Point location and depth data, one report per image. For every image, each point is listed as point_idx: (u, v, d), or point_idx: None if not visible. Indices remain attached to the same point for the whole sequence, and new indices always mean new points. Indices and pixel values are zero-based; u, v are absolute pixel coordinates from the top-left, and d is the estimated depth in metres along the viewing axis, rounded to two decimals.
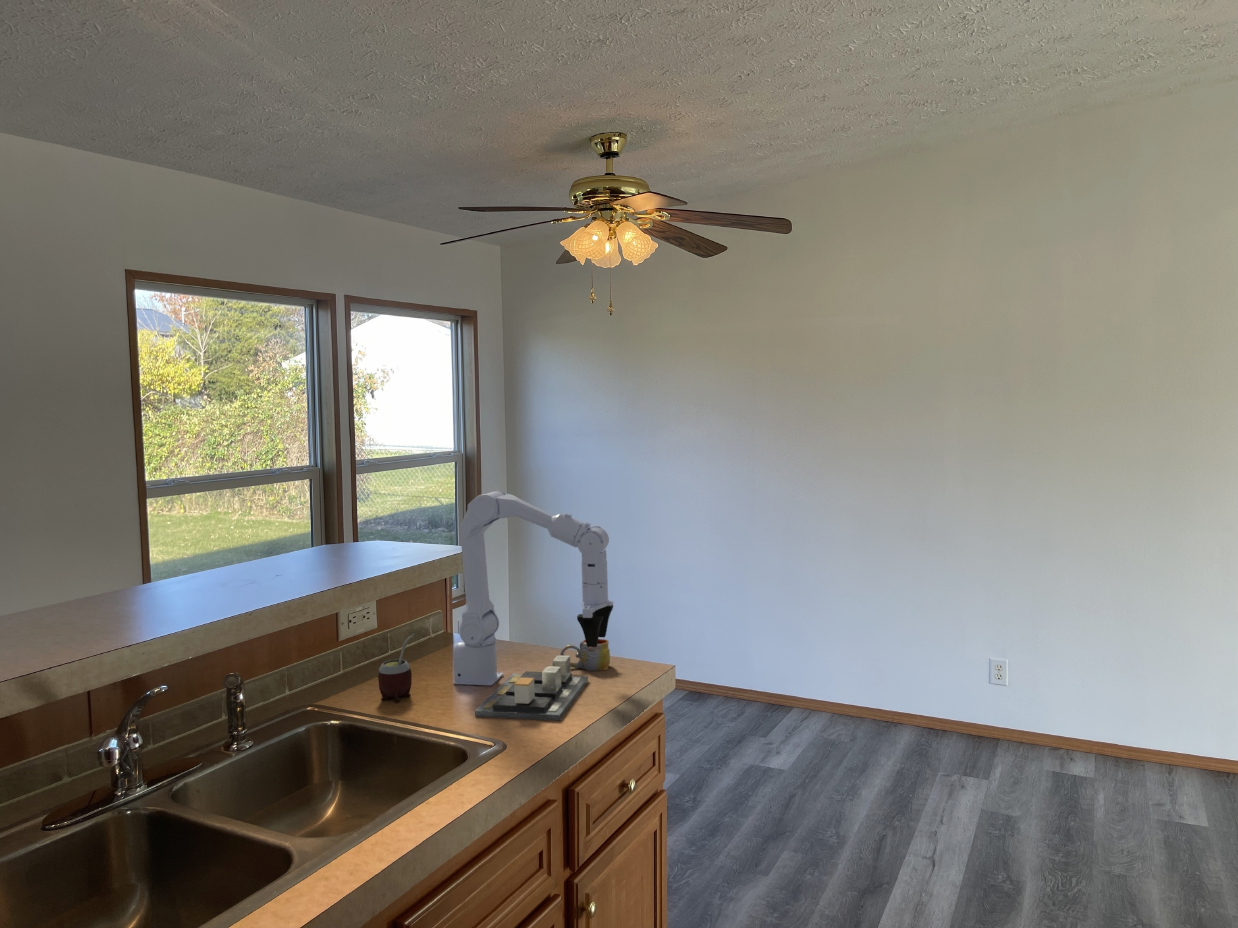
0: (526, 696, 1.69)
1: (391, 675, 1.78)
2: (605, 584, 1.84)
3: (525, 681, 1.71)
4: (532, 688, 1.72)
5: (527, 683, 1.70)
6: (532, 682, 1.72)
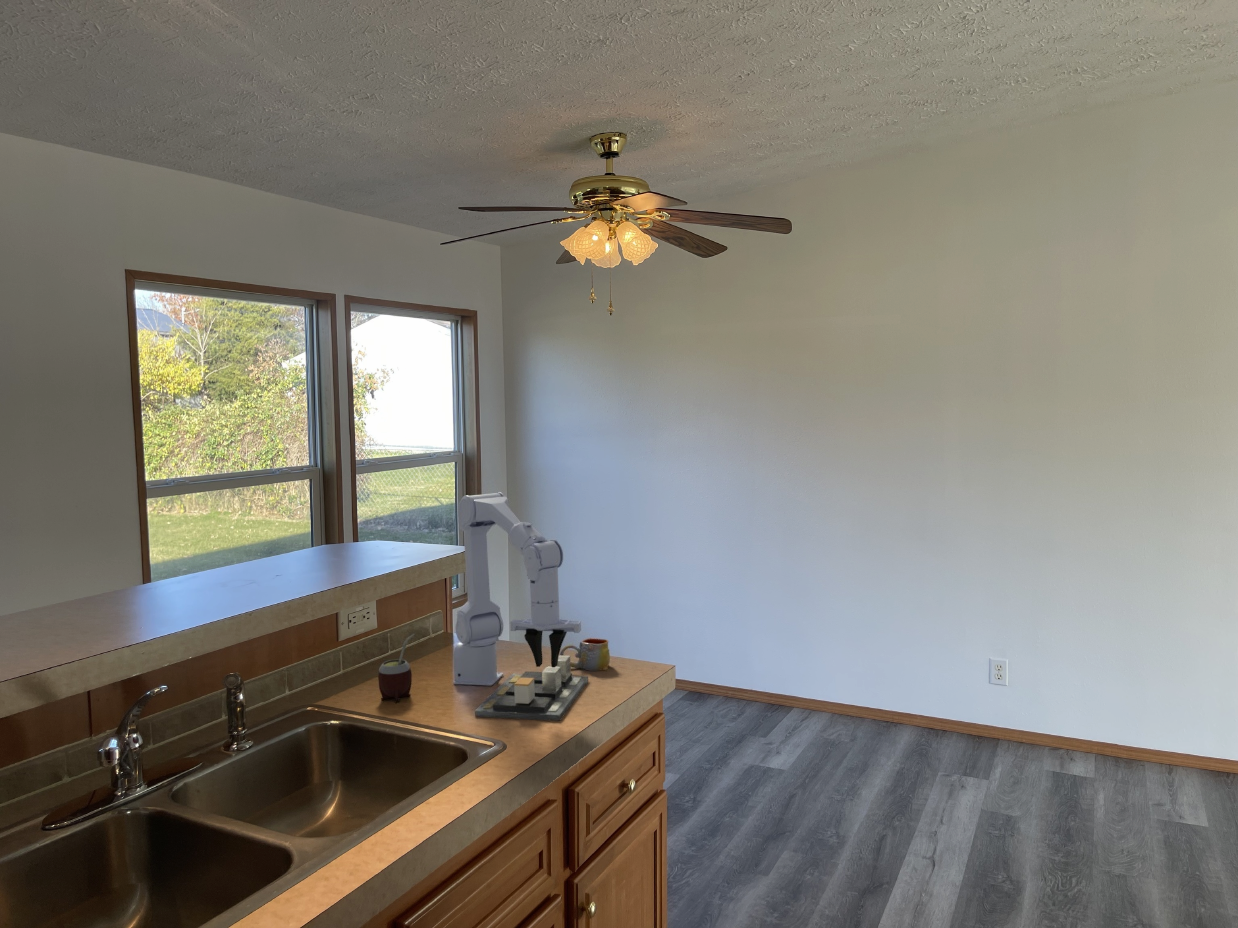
0: (526, 696, 1.69)
1: (391, 675, 1.78)
2: (536, 605, 1.67)
3: (525, 681, 1.71)
4: (532, 688, 1.72)
5: (527, 683, 1.70)
6: (532, 682, 1.72)
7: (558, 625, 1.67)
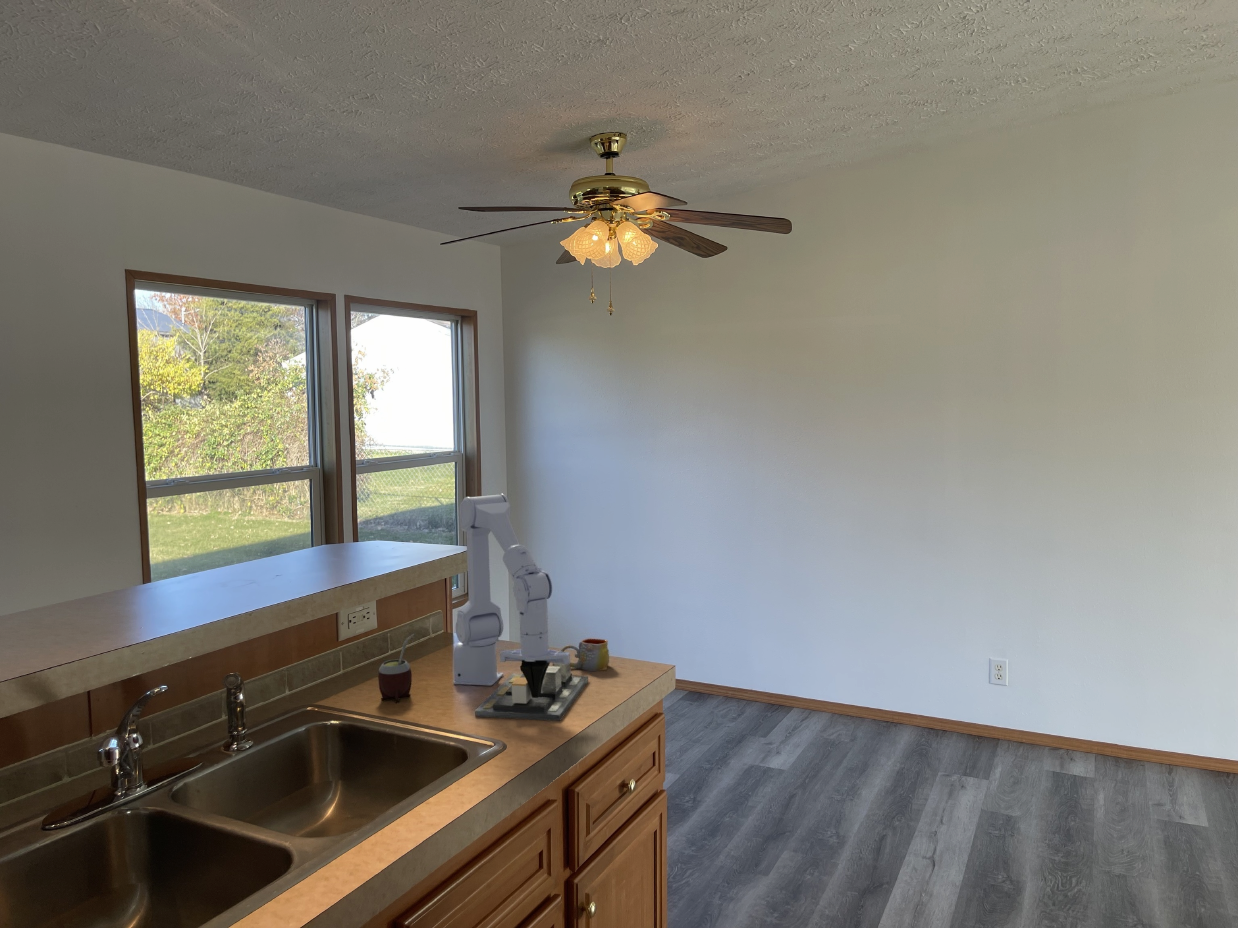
0: (523, 696, 1.69)
1: (391, 675, 1.78)
2: (525, 636, 1.68)
3: (522, 681, 1.71)
4: (529, 688, 1.72)
5: (524, 683, 1.70)
6: None
7: (547, 656, 1.68)
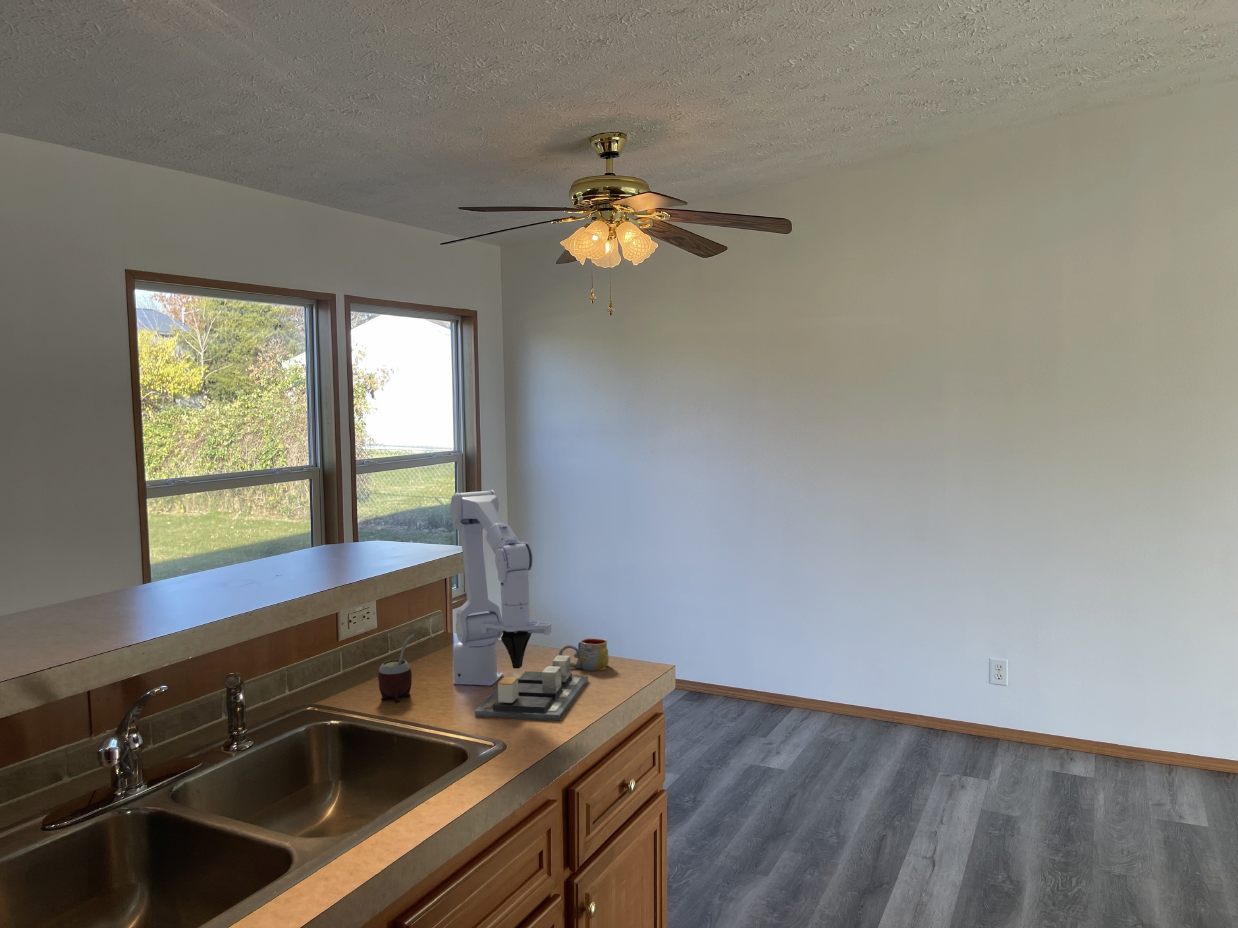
0: (510, 695, 1.70)
1: (391, 675, 1.78)
2: (506, 606, 1.68)
3: (509, 680, 1.72)
4: (516, 687, 1.73)
5: (511, 682, 1.70)
6: (516, 681, 1.73)
7: (528, 627, 1.68)
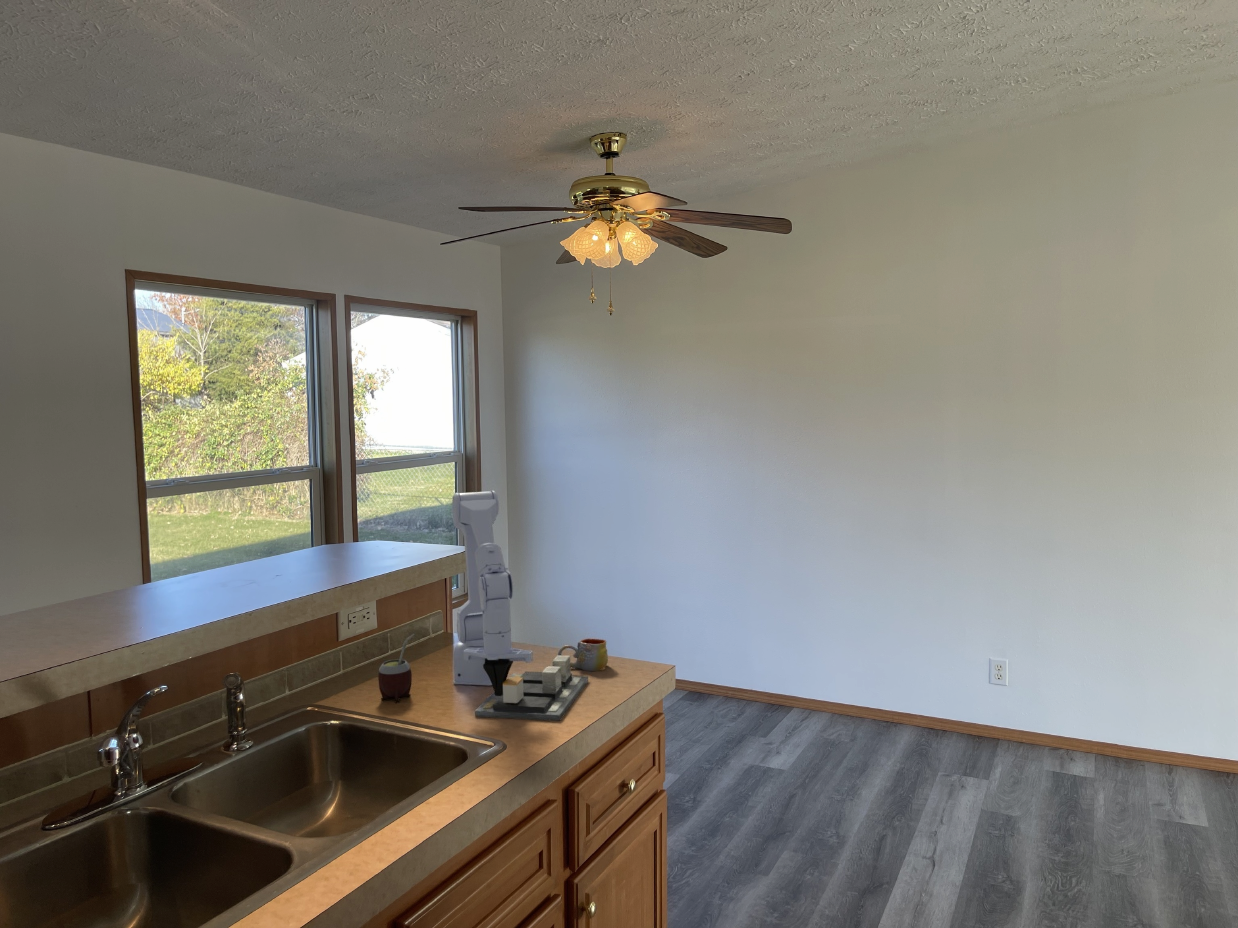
0: (515, 695, 1.70)
1: (391, 675, 1.78)
2: (488, 635, 1.69)
3: (514, 681, 1.71)
4: (521, 688, 1.72)
5: (516, 683, 1.70)
6: (521, 682, 1.72)
7: (510, 655, 1.69)
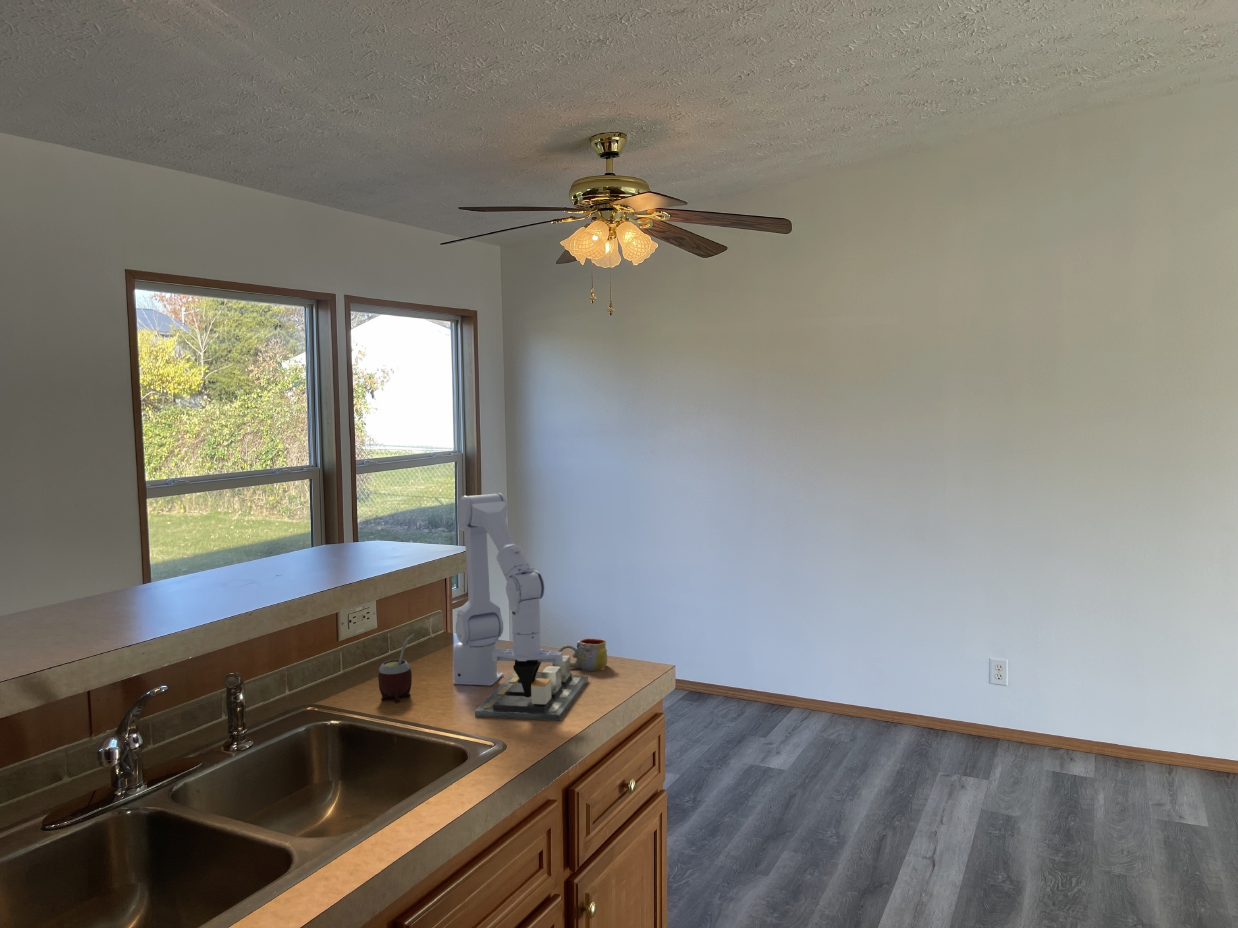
0: (543, 697, 1.69)
1: (391, 675, 1.78)
2: (518, 636, 1.68)
3: (542, 682, 1.70)
4: (549, 689, 1.71)
5: (544, 684, 1.69)
6: (549, 683, 1.71)
7: (539, 656, 1.68)
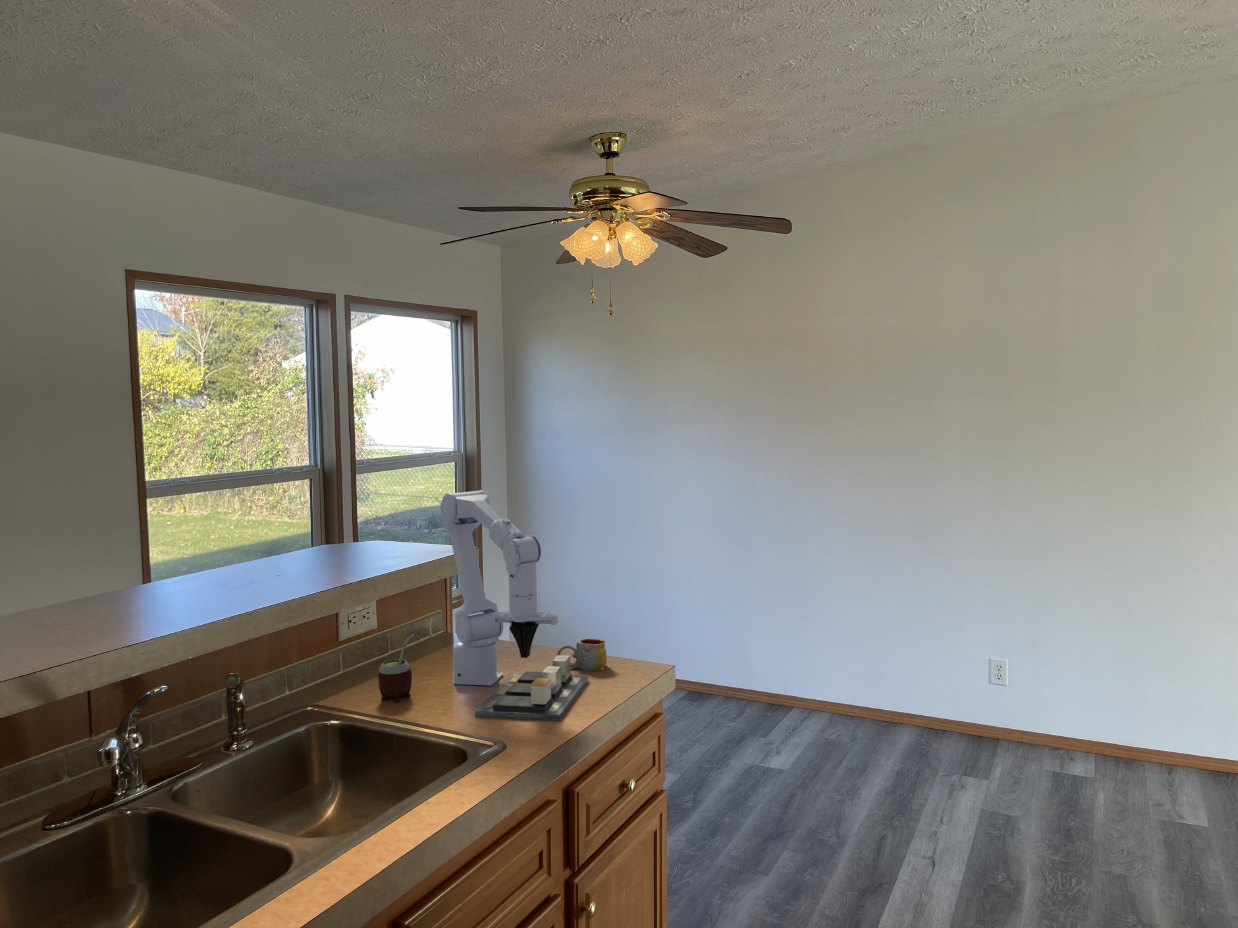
0: (543, 697, 1.69)
1: (391, 675, 1.78)
2: (515, 598, 1.74)
3: (541, 682, 1.70)
4: (548, 689, 1.71)
5: (544, 684, 1.69)
6: (548, 683, 1.71)
7: (536, 617, 1.74)
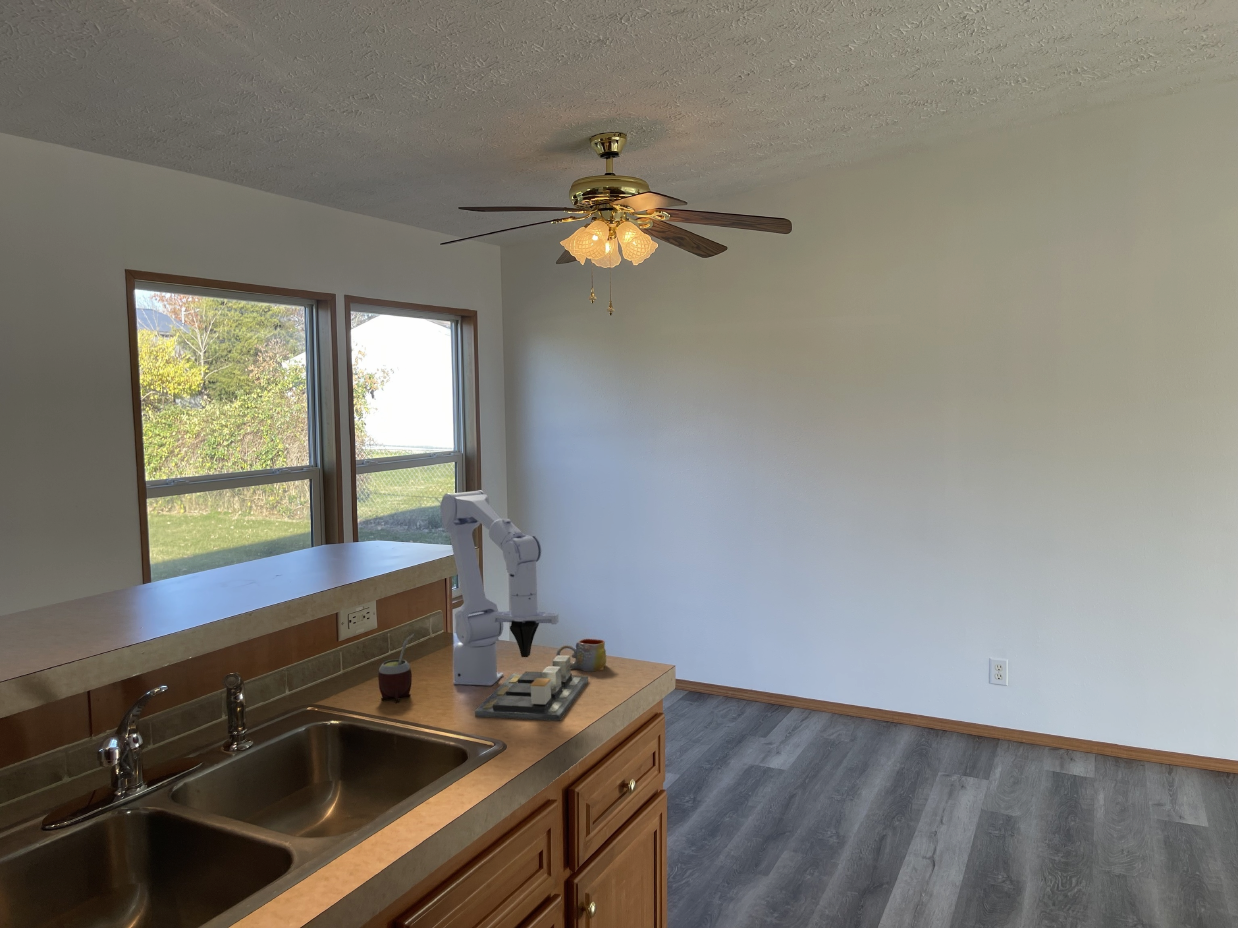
0: (543, 697, 1.69)
1: (391, 675, 1.78)
2: (515, 597, 1.74)
3: (541, 682, 1.70)
4: (548, 689, 1.71)
5: (544, 684, 1.69)
6: (548, 683, 1.71)
7: (536, 617, 1.74)
